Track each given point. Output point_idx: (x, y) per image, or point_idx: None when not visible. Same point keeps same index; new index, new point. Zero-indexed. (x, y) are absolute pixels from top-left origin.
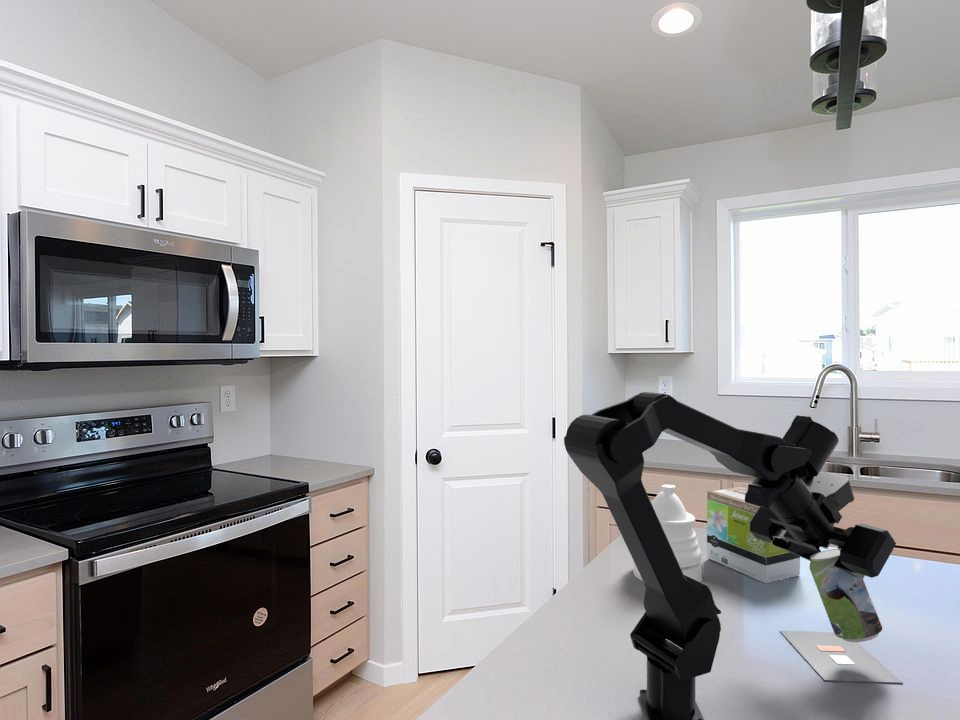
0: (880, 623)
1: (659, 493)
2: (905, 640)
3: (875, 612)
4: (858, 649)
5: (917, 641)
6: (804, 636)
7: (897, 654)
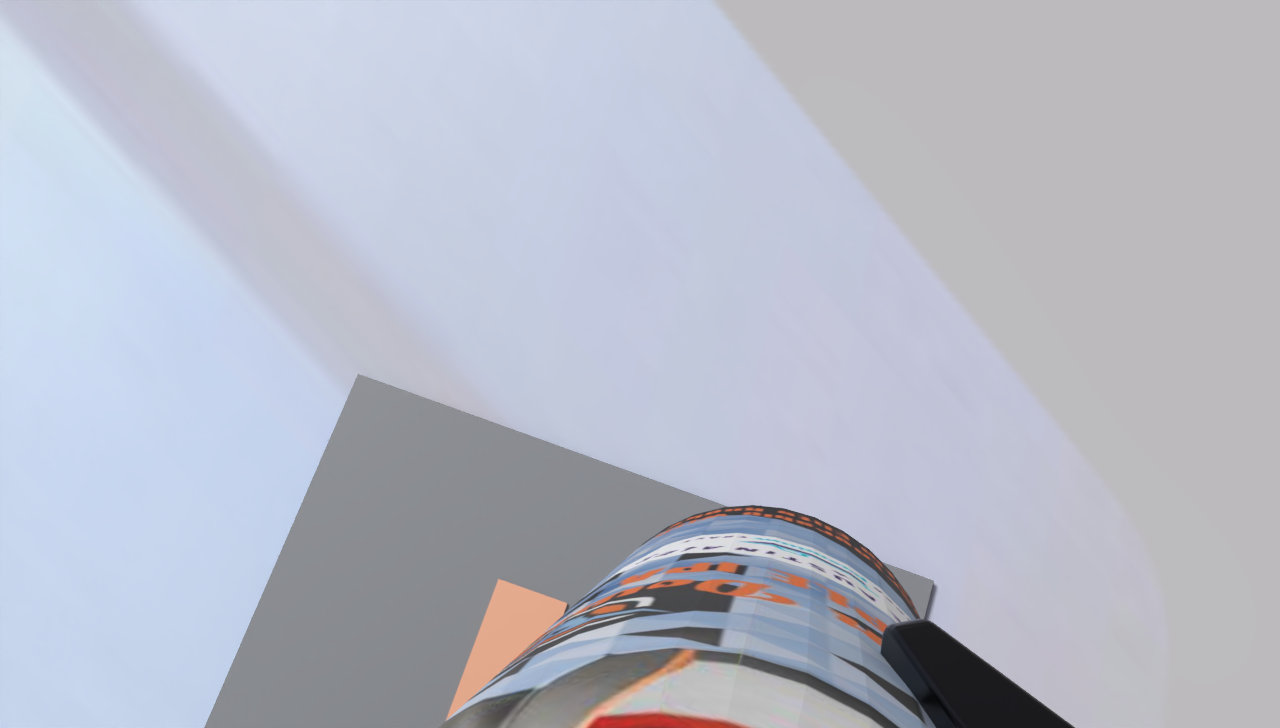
0: (892, 577)
1: None
2: (544, 110)
3: (913, 616)
4: (562, 493)
5: (574, 59)
6: (302, 710)
7: (663, 307)
